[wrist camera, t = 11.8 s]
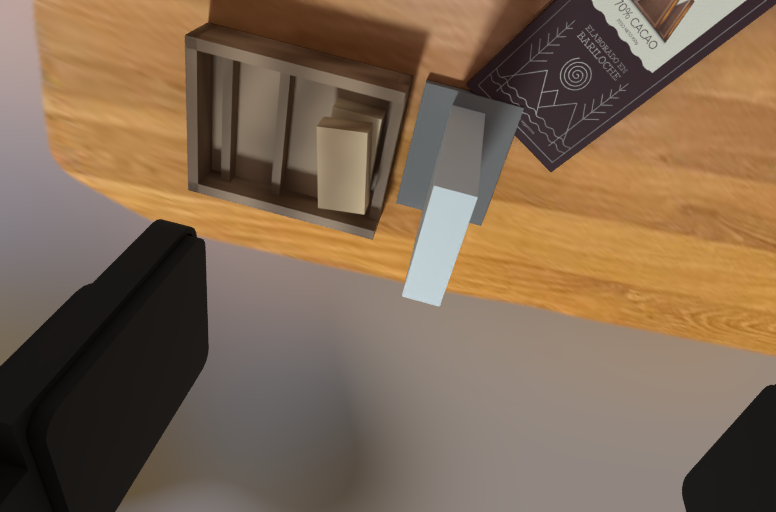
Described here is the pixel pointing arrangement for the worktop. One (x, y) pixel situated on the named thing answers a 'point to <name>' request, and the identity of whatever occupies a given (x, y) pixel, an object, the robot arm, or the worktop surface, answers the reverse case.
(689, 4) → the chocolate bar
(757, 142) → the worktop surface
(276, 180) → the rack
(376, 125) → the offcut low
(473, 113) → the board
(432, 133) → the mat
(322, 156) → the offcut top
